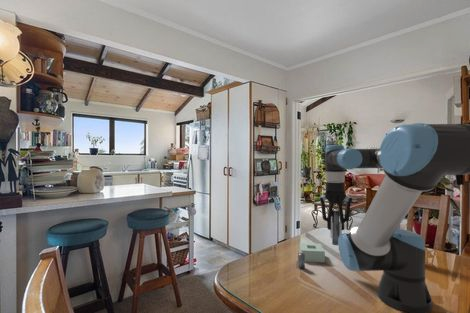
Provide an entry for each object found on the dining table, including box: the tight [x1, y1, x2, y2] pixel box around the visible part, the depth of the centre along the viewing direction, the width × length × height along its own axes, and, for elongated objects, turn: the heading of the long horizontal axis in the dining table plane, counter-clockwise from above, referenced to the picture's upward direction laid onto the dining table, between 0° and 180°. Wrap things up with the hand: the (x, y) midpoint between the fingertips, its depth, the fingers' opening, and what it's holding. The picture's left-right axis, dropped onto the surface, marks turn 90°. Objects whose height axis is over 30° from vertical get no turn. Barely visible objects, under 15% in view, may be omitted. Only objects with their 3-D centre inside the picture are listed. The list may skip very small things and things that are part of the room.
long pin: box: [331, 209, 340, 246], centre depth 106 cm, size 3×3×14 cm
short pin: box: [297, 252, 306, 270], centre depth 108 cm, size 3×3×6 cm
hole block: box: [299, 242, 326, 263], centre depth 119 cm, size 10×10×5 cm
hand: (335, 237), depth 106 cm, fingers closed on long pin, 3 cm apart
